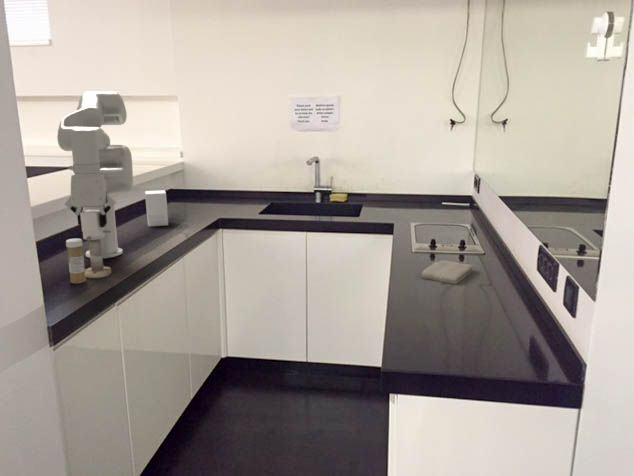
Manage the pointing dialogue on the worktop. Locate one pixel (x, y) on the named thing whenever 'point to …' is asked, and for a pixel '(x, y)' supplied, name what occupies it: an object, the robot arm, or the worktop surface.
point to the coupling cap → (92, 225)
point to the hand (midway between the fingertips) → (92, 226)
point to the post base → (99, 274)
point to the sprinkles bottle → (76, 260)
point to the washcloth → (447, 271)
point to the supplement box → (156, 208)
